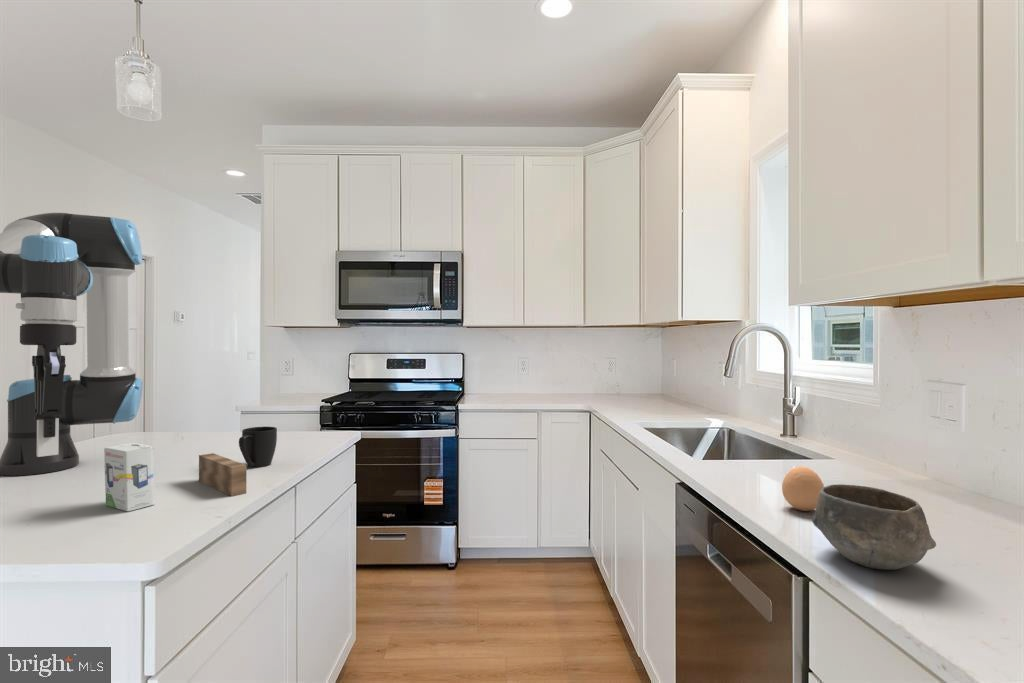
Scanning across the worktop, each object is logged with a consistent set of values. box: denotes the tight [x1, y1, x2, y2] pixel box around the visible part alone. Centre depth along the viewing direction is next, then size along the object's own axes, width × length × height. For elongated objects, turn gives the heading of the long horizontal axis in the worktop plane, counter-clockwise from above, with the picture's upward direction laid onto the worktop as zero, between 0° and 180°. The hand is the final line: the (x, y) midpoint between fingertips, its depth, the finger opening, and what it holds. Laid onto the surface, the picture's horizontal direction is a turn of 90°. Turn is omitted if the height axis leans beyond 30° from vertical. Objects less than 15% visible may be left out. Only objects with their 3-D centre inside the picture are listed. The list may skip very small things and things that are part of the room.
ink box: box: [103, 442, 156, 512], centre depth 100 cm, size 9×5×12 cm, turn 62°
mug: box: [238, 426, 278, 469], centre depth 132 cm, size 8×12×10 cm
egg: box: [781, 465, 825, 512], centre depth 100 cm, size 7×7×8 cm
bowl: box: [811, 483, 937, 570], centre depth 77 cm, size 14×15×10 cm
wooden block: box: [198, 452, 248, 497], centre depth 114 cm, size 18×3×6 cm, turn 51°
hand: (47, 455), depth 91 cm, fingers closed
